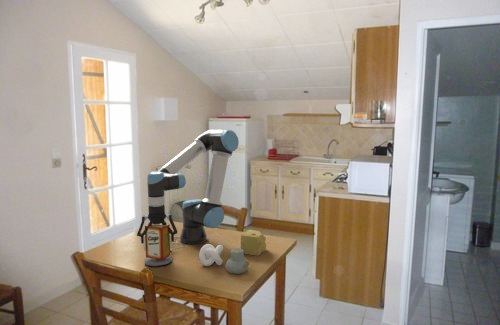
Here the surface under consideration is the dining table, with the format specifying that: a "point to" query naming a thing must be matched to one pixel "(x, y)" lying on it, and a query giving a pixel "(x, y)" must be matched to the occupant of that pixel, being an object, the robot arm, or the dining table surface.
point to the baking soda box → (157, 241)
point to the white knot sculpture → (210, 255)
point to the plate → (157, 261)
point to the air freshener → (237, 262)
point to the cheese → (253, 242)
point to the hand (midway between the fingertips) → (158, 248)
